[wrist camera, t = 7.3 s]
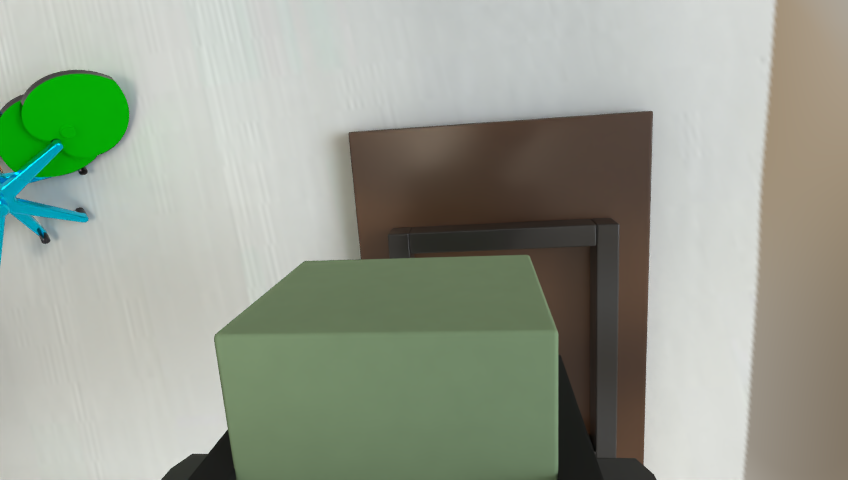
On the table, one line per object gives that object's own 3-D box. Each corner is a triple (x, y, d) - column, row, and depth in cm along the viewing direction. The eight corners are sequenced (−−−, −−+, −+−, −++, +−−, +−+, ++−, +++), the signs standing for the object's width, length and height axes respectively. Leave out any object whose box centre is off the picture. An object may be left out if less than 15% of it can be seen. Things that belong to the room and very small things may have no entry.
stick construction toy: (17, 298, 28) (-178, 241, 21) (-11, 221, 31) (-186, 151, 24) (184, 139, 28) (46, 33, 21) (138, 81, 32) (8, -25, 25)
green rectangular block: (303, 260, 14) (211, 334, 9) (529, 253, 13) (559, 331, 9) (331, 515, 16) (266, 691, 11) (533, 521, 15) (558, 710, 10)
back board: (352, 131, 26) (339, 133, 24) (646, 111, 24) (664, 110, 22) (390, 511, 31) (382, 544, 29) (636, 514, 29) (650, 550, 27)
